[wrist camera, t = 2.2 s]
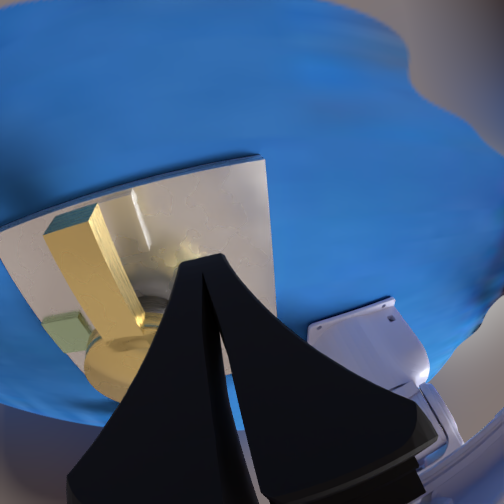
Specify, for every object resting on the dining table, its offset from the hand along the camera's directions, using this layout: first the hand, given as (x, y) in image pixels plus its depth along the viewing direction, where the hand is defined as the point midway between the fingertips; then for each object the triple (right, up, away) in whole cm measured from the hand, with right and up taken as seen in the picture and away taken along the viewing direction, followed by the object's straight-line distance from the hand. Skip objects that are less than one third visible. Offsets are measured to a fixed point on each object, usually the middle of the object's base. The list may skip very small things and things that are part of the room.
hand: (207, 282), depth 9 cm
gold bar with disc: (-6, -2, +8) cm, 10 cm away
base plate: (-6, -3, +11) cm, 13 cm away
